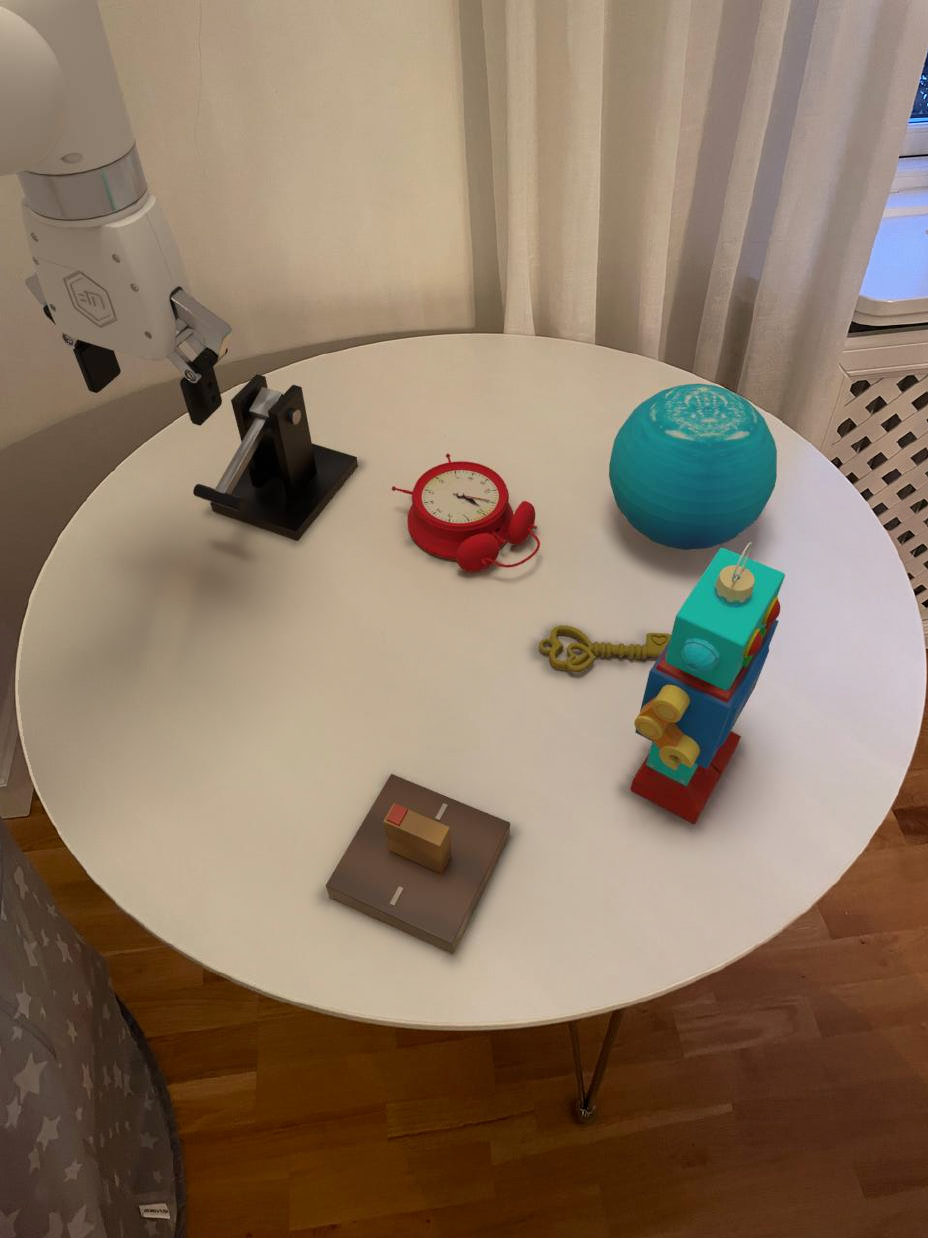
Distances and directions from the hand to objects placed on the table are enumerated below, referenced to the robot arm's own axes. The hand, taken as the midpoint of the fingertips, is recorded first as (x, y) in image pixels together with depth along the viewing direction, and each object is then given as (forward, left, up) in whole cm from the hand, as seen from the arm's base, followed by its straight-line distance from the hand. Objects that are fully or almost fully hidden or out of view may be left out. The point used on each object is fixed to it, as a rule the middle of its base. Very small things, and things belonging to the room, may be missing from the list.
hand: (155, 398), depth 72 cm
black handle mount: (+13, 0, -20) cm, 24 cm away
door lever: (+9, 0, -13) cm, 16 cm away
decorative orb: (+24, -38, -20) cm, 49 cm away
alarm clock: (+15, -20, -20) cm, 32 cm away
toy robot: (-2, -46, -20) cm, 50 cm away
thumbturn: (-18, -31, -18) cm, 40 cm away
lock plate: (-18, -31, -20) cm, 41 cm away
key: (+6, -37, -20) cm, 43 cm away
